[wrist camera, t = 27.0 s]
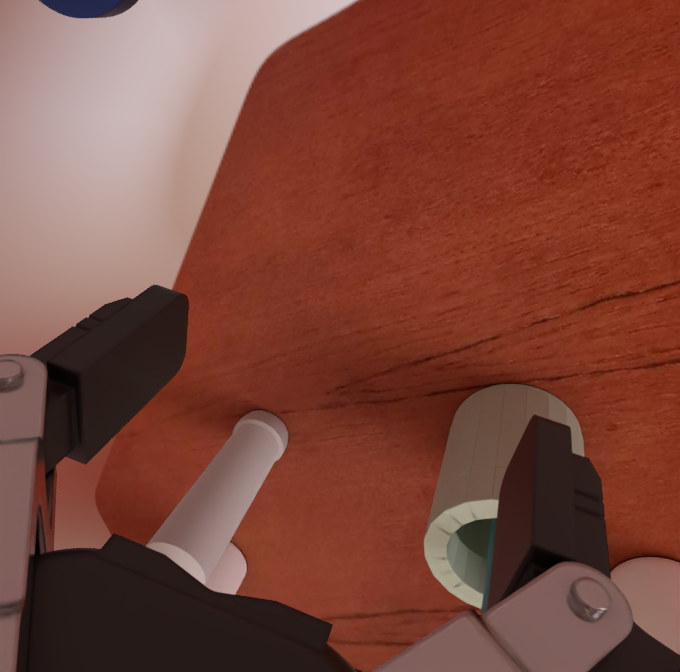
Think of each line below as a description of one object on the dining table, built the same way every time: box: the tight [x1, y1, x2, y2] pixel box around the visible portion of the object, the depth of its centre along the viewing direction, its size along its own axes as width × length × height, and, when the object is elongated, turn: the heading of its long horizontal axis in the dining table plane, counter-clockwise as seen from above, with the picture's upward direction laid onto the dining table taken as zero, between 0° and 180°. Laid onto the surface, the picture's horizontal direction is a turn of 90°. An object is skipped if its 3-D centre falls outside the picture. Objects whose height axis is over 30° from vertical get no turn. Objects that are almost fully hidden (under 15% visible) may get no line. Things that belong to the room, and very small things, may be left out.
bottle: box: [146, 410, 288, 585], centre depth 46 cm, size 5×5×25 cm
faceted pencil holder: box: [424, 384, 584, 609], centre depth 43 cm, size 10×10×13 cm
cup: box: [611, 557, 680, 655], centre depth 48 cm, size 8×12×10 cm
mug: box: [205, 542, 247, 595], centre depth 63 cm, size 12×8×10 cm, turn 7°
